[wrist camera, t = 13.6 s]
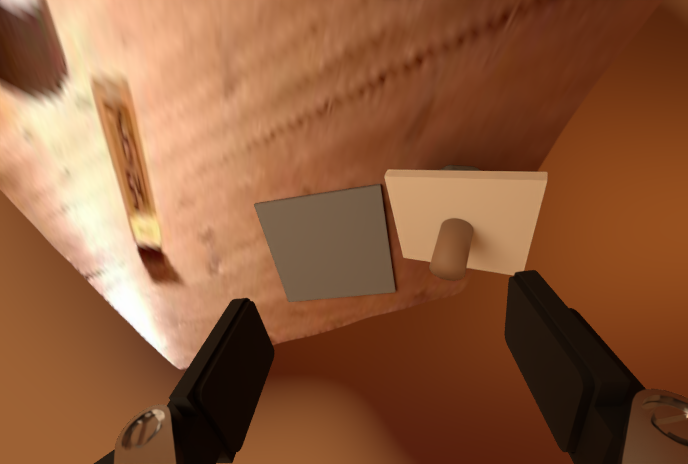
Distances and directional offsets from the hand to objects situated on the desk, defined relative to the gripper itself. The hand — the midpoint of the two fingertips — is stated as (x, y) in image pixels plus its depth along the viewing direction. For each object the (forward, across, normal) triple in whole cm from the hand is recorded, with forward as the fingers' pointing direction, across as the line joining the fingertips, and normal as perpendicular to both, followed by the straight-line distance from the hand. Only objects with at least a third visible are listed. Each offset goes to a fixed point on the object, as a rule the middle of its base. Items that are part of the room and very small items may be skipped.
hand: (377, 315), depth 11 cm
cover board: (+24, -9, +9) cm, 27 cm away
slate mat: (+33, +10, +16) cm, 38 cm away
